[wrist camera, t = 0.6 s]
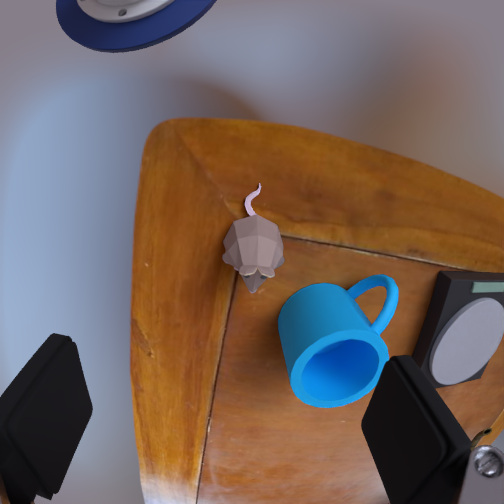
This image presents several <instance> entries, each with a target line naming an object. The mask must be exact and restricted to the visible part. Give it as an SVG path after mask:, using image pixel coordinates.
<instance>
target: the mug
mask: <svg viewBox="0 0 504 504" xmlns="http://www.w3.org/2000/svg"><path fill="white" fill-rule="evenodd" d="M376 286H384V287H386V290H387V298H386V300H385V303H384V306H383V309H382V310H381V312H380V314H379V315H378V317H377V319H376V320H375V322H374V323H373V324H371V323H370V321H369V320H368V318H367V317H366V315H365V314H364V313H363V311H362V310H361V308H360V307H359V306H358V304H357V303H356V301H355V300H354V299H356V298H357V297H358V296H359V295H361V294H362V293H364V292H365V291H367V290H368V289H371V288H374V287H376ZM397 303H398V287H397V285H396V283H395V281H394V280H393V279H392V278H391V277H388V276H386V275H384V274H380V275H372V276H370V277H368V278H365V279H363V280H361V281H359V282H358V283H357V284H355V285H354V286H352V287H351V288H350V289H348V290H345V289H343V288H342V287H340V286H338V285H334V284H329V283H320V284H312V285H310V286H307V287H305V288H302V289H300V290H299V291H297V292H296V293H295V294H293V295H292V296H291V297H289V299H288V300H287V301H286V303H285V304H284V306H283V307H282V309H281V312H280V315H279V318H278V331H279V335H280V340H281V344H282V349H283V353H284V358H285V362H286V367H287V371H288V376H289V380H290V385H291V387H292V389H293V391H294V394H295V396H297V397H298V398H299V399H300V400H301V401H303V402H304V403H306V404H309V405H312V406H314V407H323V408H332V407H338V406H343V405H346V404H349V403H351V402H354V401H356V400H358V399H360V398H361V397H363V396H364V395H366V394H367V393H369V392H370V391H371V390H372V389H373V388H374V387H375V386H376V385H377V383H378V380H379V378H380V375H381V372H382V370H383V367H384V364H385V363H386V361H388V360H389V355H388V349H387V346H386V344H385V343H384V341H383V340H382V338H381V337H380V336H379V335H380V334H381V333H382V332H383V331H384V329H385V328H386V327H387V325H388V323H389V322H390V320H391V318H392V317H393V315H394V312H395V309H396V306H397Z"/></svg>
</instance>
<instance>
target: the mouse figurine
mask: <svg viewBox="0 0 504 504" xmlns="http://www.w3.org/2000/svg"><path fill="white" fill-rule="evenodd" d="M260 189H261V185H260V183H259V188H258V189H257V190H256V191H254V192H252V193H251V194H249V195H248V196H247V197H246V200H245V207H246V210H247V212H248V214H249V215H250V216H249V217H246V218H243V219H240V220H236V221H234V222H233V224H232V225H231V227H230V229H229V231H228V233H227V235H226V237H225V239H224V241H223V243H224V246H225V249H226V251H225V254H223V255H222V256H223V261H224V262H225V263H227V264H230V265H232V266H234V269H235V270H237V271H239V273H240V274H241V276H242V278H243V280H244V282H245V284H246V286H247V288H248V290H249V291H250V292H251V293H254V292H256V290H257V289H258V287H259V286H260V285H261V284H262V283H263V282H264V281H265V280H266V278H267V277H270V278H271V277H274V276H275V273H274V269H275V268H278V267H280V266H281V265H282V264H283V262H284V261H285V259H284V257H283V243H282V240H281V236H280V232H279V229H278V225H276V224H274V223H272V222H270V221H269V220H267V219H265V218H263V217H261V216H259V215H257V214H256V213H255V212H254V211H253V209H252V207H251V205H250V204H251V200H252V199H253V198H254V197H255V196H257V195H258V194H259V193H260Z"/></svg>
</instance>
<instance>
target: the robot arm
mask: <svg viewBox="0 0 504 504" xmlns="http://www.w3.org/2000/svg"><path fill="white" fill-rule="evenodd" d="M173 1H175V0H77V2H78V5H79V6H80V7H81V9H82V10H83V11H84V12H85V13H86V14H88V15H89V16H91V17H92V18H94V19H96V20H99V21H103V22H109V23H122V22H129V21H134V20H138V19H141V18H144V17H146V16H149V15H152V14H154V13H155V12H157V11H159V10H161V9H163V8H165V7H166V6H168V5H169V4H171V3H172V2H173ZM124 14H125V15H124ZM92 410H93V408H92V402H91V399H90V396H89V392H88V389H87V385H86V382H85V378H84V374H83V370H82V366H81V362H80V358H79V354H78V349H77V345H76V343H75V342H72V339H71V338H70V337H69V336H65V335H60V334H55V333H53V334H51V335H50V336H49V337H48V338H47V340H46V341H45V342H44V343H43V344H42V346H41V347H40V348H39V349H38V350H37V351H36V353H35V354H34V355H33V357H32V358H31V359H30V360H29V361H28V362H27V364H26V365H25V366H24V367H23V368H22V370H21V371H20V372H19V373H18V375H17V376H16V377H15V379H14V380H13V381H12V382H11V384H10V385H9V386H8V388H7V389H6V390H5V391H4V393H3V394H2V395H1V397H0V504H35V503H34V499H35V496H36V494H37V495H39V496H41V497H44V498H46V499H49V500H51V499H52V496H53V494H56V493H58V492H59V490H60V488H61V485H62V482H63V480H64V477H65V475H66V473H67V470H68V468H69V465H70V463H71V461H72V458H73V456H74V453H75V451H76V449H77V446H78V444H79V442H80V440H81V437H82V435H83V433H84V431H85V428H86V426H87V424H88V422H89V419H90V417H91V415H92ZM361 427H362V431H363V434H364V436H365V439H366V441H367V444H368V446H369V449H370V451H371V454H372V456H373V459H374V462H375V464H376V467H377V469H378V472H379V474H380V477H381V480H382V482H383V485H384V488H385V490H386V493H387V496H388V498H389V501H390V504H504V454H503V452H502V451H500V450H499V449H498V448H496V447H493V446H490V445H481V446H478V447H476V448H475V449H474V450H473V451H471V449H470V446H471V445H472V442H471V441H470V439H469V438H468V436H467V435H466V433H465V432H464V430H463V429H462V427H461V426H460V424H459V423H458V421H457V420H456V418H455V417H454V415H453V414H452V412H451V411H450V410H449V408H448V407H447V405H446V404H445V402H444V401H443V400H442V398H441V397H440V395H439V394H438V393H437V391H436V390H435V388H434V387H433V386H432V384H431V383H430V381H429V380H428V379H427V377H426V376H425V375H424V373H423V372H422V370H421V369H420V368H419V366H418V365H417V364H416V362H415V361H414V360H413V358H412V357H411V356H410V355H401V356H392V357H391V358H390V360H389V361H386V363H385V364H384V367H383V370H382V372H381V375H380V378H379V380H378V383H377V385H376V388H375V390H374V393H373V395H372V398H371V400H370V403H369V405H368V407H367V410H366V412H365V414H364V417H363V419H362V423H361Z"/></svg>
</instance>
